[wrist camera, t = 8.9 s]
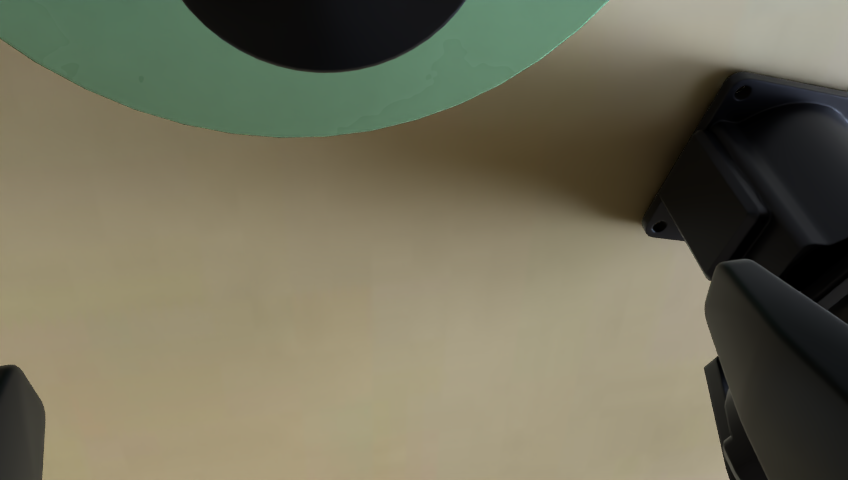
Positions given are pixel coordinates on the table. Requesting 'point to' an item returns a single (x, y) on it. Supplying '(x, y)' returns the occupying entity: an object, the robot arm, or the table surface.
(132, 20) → the lid
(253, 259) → the table surface
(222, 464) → the table surface
